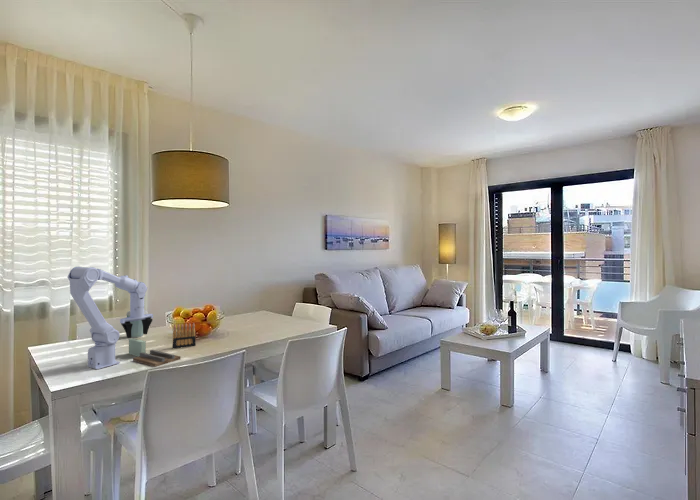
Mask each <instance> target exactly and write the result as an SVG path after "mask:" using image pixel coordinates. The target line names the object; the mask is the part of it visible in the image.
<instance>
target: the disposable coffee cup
mask: <svg viewBox="0 0 700 500" xmlns="http://www.w3.org/2000/svg"><path fill="white" fill-rule="evenodd" d="M145 314H149V311H148V309H144V315H145ZM125 316H126V318H127V317H130V310H128V311H127V312H126V315H125ZM130 323H132V324H133V325H132V330H131V338H130V339H138V338H142V337H144V334H143V324H142V320H138V321H132V322H130Z"/></svg>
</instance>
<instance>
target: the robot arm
mask: <svg viewBox="0 0 700 500" xmlns="http://www.w3.org/2000/svg"><path fill="white" fill-rule="evenodd" d="M67 279H68V281H69V294H70V296H71V297H72V299H73V300H74V302H75V303H76V305H77V306H78V308H79V310H80V312H81V313H82V314H83V316H84V318H85V319H86V321H87V322H88V324H89V326H90V327H91V328H90V329H89V332H90V335H91V336H90V337H91V340H92V341H93V342H94V345H93V346H91V347H89V348H88V350H87V365H86V367H88V368H91V369H93V370H101V369H103V368H107V367H111V366H115V365H118V364H120V363H121V362H120V361H117V360H116V344H117V342H118V340H120V339H119V338H120V331H119V330H117V329H116V328H114V325H112V324H110V323H108V322H107V321H106V319H105V317H104V316H103V314H102V312H101V311H100V309H99V308H98V305H97V304H96V303H95V300H94V299H93V297H92V296H91V294H90V290H91V289H92V287H94V285H95V284H96V283H97V281H100V280H101V281H105V282H107V283H108V282H109V283H111V284H114V286H115V288H117V289H120V290H122V291H126V292H127V293H128V294H129V298H130V299H129V301H130V302H129V311H130V317H127V316H126V317H124V318H120V319H119V324H121V326H122V329H123V330H124V332H125V335H126V338H128V339H132V338H131V330H132V325H133V324H132V323H130V322H132V321H138V320H142V324H143V335H148V332H149V328H150V326H151V324H152V323H153V318H154V313H148V314H145V315H144V310H145V297H146V292H147V291H148V286H147V285H146V283H145V282H143V281H138V280H137V278H134V279H132V278H130V277H129V275H127V274H126V275H119V276H117V275H115V274H113V273H110V272H109V271H105V270H103V269H101V268H96V267H93V266H90V267H89V266H88V267H87V266H86V267H85V266H75V267H73V268H71V269H70V271H69V273H68V275H67Z"/></svg>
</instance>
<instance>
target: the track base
mask: <svg viewBox="0 0 700 500" xmlns="http://www.w3.org/2000/svg"><path fill="white" fill-rule="evenodd" d="M132 360H133V362H136V363H139V364H143V365H147V366H151V367H154V368H155V367H160V366H162V365H166V364H170V363H172V362H176V361H178V360H181V356H180V355H177V354H173V353H169V352H163V351H160V350H154V349H150V350H149V353H143V352H142V353H140V356H135V357H133V358H132Z"/></svg>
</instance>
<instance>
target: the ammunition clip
mask: <svg viewBox="0 0 700 500" xmlns="http://www.w3.org/2000/svg"><path fill="white" fill-rule="evenodd" d="M173 325H174V326H173V328H172V329H173V330H172V349H173V348H174V349H181V347H182V348H187V347H196V345H197V344H196V343H197V342H196V328H195V327H196V325H195V322H193V323H192V324H191V322H189V323H188V324H187V323H185V324H183V323H181V327H180V323H179V324H177V327H176V323H175V324H173Z"/></svg>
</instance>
